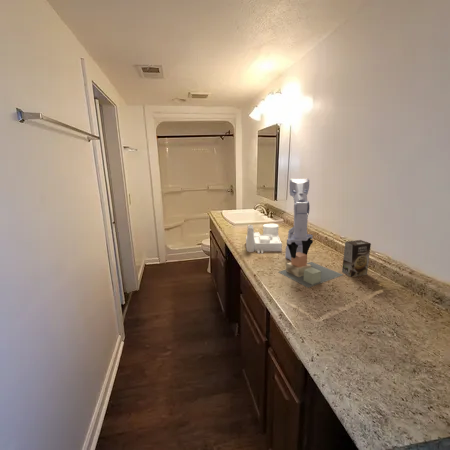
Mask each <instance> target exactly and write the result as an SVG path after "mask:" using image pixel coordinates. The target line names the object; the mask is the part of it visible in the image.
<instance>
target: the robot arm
mask: <svg viewBox="0 0 450 450" xmlns="http://www.w3.org/2000/svg"><path fill="white" fill-rule="evenodd" d="M309 189H310V179H309V178H290V179H289V195H290V197H293V227H291V228H290V229H289V230H288V232H287V239H286V246H285V255H284V257H285V259H286V260H287V259H288V260H289V261H291V257H292V258H295V257H296V253H297V252H301V253H304V254H306V255H307V256H308V254H309V253H308V252H309V250H310V247H312V244H313V242H314V240H313V238H314V237H313V236H314V235H313V234H309V233H308V221H309V220H308V217H309V214H310V202H309V200H308V194H309V191H310V190H309Z"/></svg>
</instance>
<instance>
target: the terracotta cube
mask: <svg viewBox="0 0 450 450" xmlns="http://www.w3.org/2000/svg"><path fill="white" fill-rule="evenodd" d="M290 262H291V264H293V265H295V266H297V267H302V266H305V265H307V263H308V254H307V255H306V254H304V253H301V252H297V253H296V257H295V258H292V257H291V260H290Z"/></svg>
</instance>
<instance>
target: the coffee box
mask: <svg viewBox="0 0 450 450" xmlns="http://www.w3.org/2000/svg"><path fill="white" fill-rule="evenodd" d="M371 245H372V244H371V242H367V241H365V240H362V239H358V240H348V241H345V242H344V250H343V259H342V268H341V272H342V273H343V274H345V275H347V276H348V277H350V278H354V277H360V276H367V275H368V270H369V263H370V253H371Z"/></svg>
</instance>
